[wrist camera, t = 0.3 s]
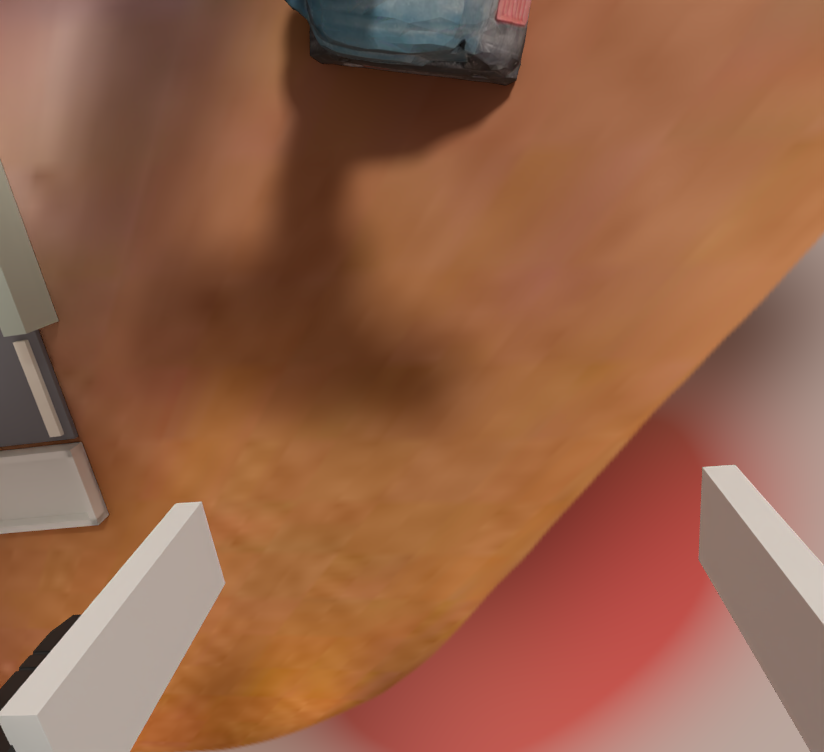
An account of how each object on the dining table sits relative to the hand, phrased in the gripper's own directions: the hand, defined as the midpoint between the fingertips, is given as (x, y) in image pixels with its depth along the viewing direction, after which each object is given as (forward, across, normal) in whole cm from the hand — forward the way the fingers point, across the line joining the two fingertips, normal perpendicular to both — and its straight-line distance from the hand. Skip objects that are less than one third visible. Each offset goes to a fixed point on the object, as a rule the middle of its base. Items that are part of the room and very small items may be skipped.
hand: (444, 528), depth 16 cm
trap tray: (+28, -38, -12) cm, 49 cm away
